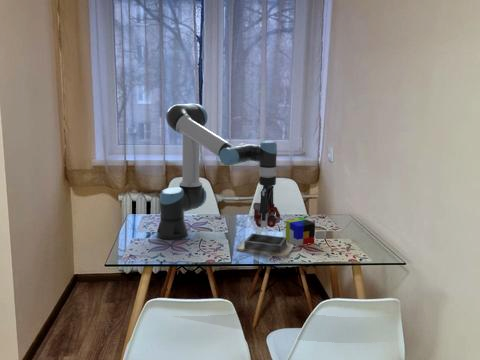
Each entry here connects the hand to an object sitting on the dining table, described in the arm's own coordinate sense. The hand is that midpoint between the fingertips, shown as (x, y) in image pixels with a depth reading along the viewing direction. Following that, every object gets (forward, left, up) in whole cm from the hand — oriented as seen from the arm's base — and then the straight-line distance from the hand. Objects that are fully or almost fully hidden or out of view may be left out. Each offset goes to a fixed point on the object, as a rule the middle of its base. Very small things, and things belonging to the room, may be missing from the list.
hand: (266, 224), depth 205 cm
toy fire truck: (0, 0, -1) cm, 1 cm away
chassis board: (0, 0, -12) cm, 12 cm away
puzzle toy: (+13, +16, -12) cm, 24 cm away
